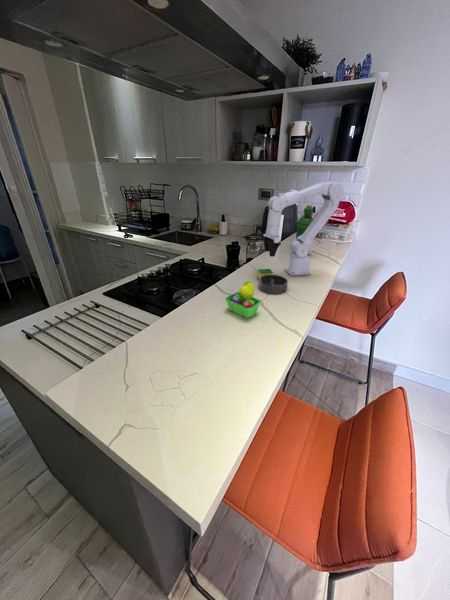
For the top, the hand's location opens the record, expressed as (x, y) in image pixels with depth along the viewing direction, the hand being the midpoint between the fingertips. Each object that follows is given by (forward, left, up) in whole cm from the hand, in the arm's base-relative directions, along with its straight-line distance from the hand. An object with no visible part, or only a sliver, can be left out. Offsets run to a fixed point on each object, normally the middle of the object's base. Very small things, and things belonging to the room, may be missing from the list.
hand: (269, 253), depth 123 cm
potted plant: (-30, -28, -11) cm, 42 cm away
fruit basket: (+19, +34, -11) cm, 41 cm away
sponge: (+3, +6, -10) cm, 13 cm away
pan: (+2, +16, -10) cm, 19 cm away
